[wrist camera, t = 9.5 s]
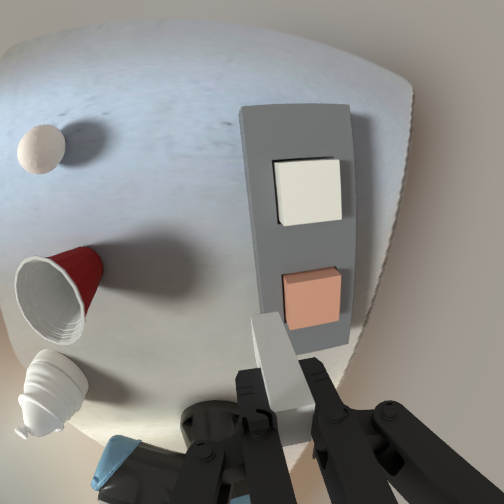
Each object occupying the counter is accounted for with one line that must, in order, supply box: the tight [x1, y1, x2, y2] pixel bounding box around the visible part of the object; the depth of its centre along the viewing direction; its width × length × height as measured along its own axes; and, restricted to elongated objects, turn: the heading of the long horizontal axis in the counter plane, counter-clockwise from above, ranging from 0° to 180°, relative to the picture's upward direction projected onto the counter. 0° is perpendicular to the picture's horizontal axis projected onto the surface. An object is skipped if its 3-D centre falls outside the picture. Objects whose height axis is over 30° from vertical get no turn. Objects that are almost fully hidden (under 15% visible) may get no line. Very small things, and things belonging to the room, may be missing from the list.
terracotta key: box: [281, 267, 341, 330], centre depth 33 cm, size 6×6×4 cm
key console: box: [239, 104, 356, 355], centre depth 33 cm, size 32×12×5 cm, turn 6°
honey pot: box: [15, 349, 89, 439], centre depth 32 cm, size 13×13×18 cm
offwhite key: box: [272, 159, 342, 226], centre depth 29 cm, size 6×6×4 cm
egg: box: [17, 125, 65, 174], centre depth 24 cm, size 6×6×8 cm
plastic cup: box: [14, 247, 103, 345], centre depth 28 cm, size 11×11×12 cm
